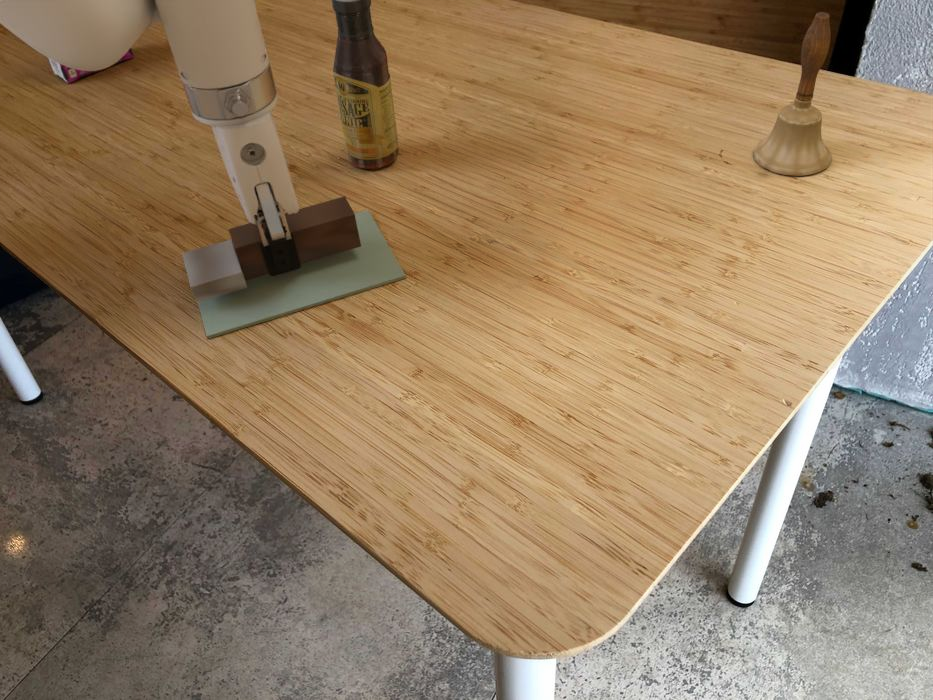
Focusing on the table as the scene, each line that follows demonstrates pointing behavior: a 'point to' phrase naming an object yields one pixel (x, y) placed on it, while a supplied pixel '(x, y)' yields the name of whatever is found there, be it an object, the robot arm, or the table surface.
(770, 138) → the hand bell
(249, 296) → the mat
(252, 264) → the dark brown bar
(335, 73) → the sauce bottle
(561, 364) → the table surface
